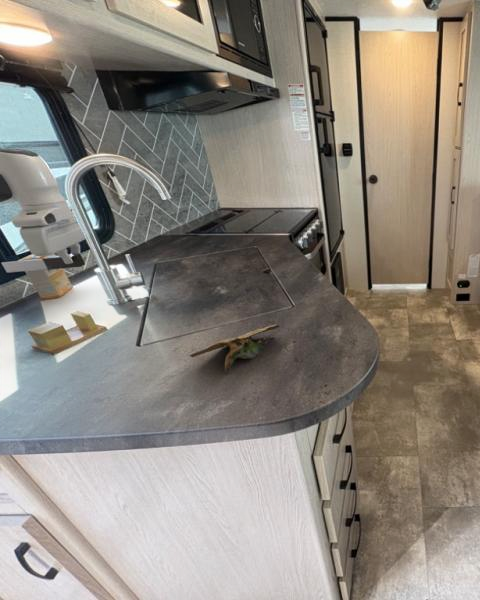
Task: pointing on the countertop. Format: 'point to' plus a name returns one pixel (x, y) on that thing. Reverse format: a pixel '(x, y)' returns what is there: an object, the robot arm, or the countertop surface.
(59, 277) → the supplement box
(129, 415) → the countertop surface
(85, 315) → the butter slice
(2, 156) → the robot arm
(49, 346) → the butter board
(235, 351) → the dried leafy seed pod
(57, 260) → the knife
